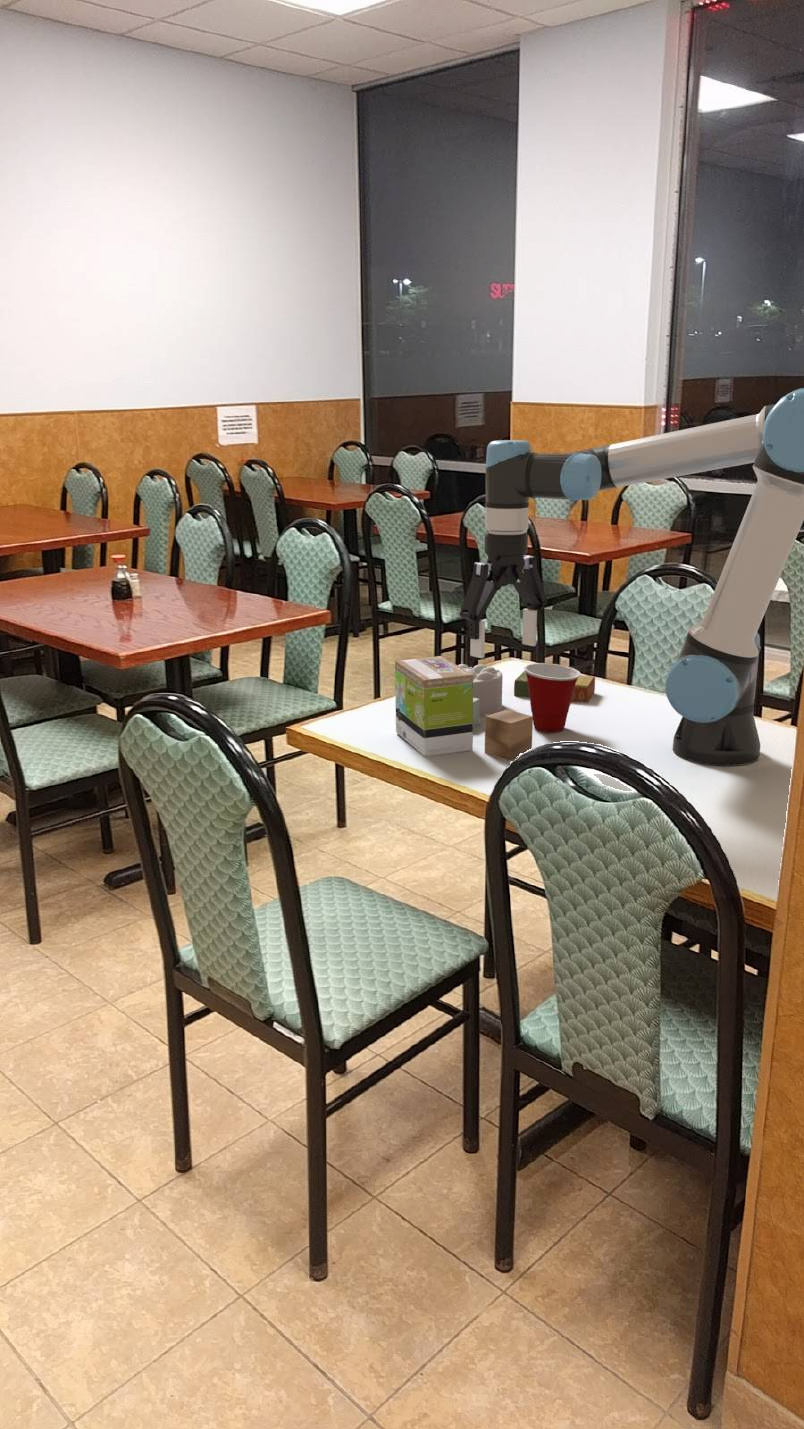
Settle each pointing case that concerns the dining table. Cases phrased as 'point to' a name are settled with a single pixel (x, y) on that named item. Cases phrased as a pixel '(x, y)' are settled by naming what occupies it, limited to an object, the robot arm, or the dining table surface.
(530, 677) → the plastic cup
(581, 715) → the dining table surface
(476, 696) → the lumpy-topped squat cylinder
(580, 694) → the carton
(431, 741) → the tea box
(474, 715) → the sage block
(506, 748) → the brown box
